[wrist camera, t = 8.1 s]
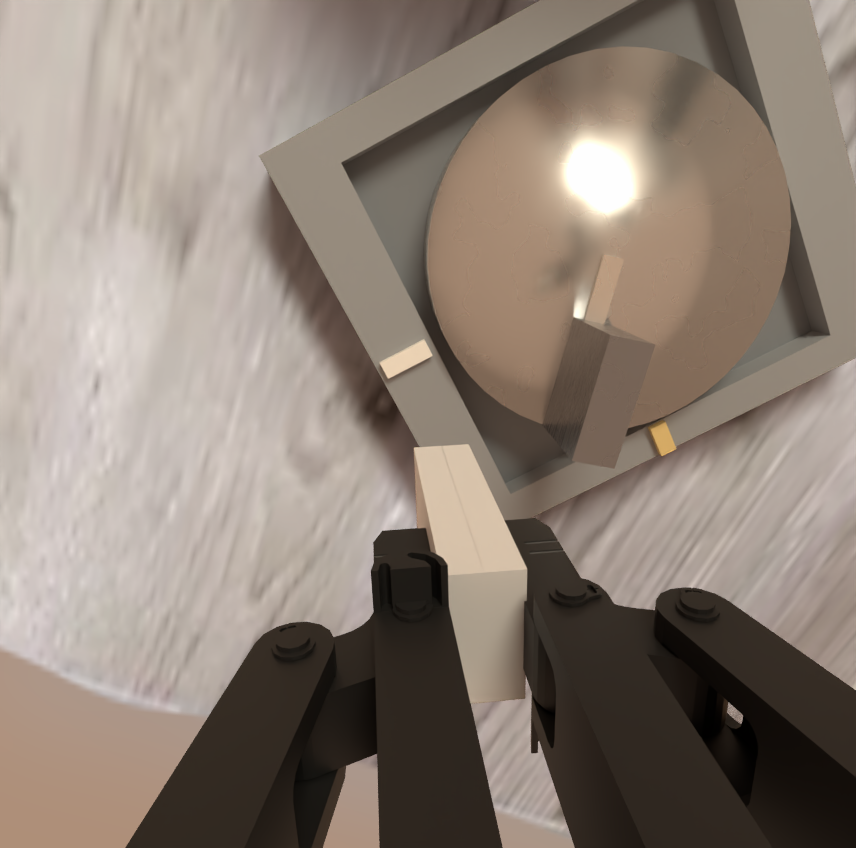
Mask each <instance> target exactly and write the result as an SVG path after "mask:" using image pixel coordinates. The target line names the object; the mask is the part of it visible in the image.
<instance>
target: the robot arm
mask: <svg viewBox="0 0 856 848" xmlns="http://www.w3.org/2000/svg"><path fill="white" fill-rule="evenodd" d="M414 466H415V489H416V512H417V528H415V529H402V530H388V531H382V532H381V533H380V535H379V536H378V537H377V539H376V540H375V541H374V542H373V544H374V564H373V567H372V570H371V579H372V594H373V608H374V612H373V614H372V616H371V617H370V619H369V620H368V621H367V622H366V623H365V624H363V625H362V626H360V627H359V628H357V629H355V630H354V631H351V632H348V633H346V634H343V635H340V636H337V637H333V636H332V634H331V632H330V630H328V629H327V628H325V627H323V626H322V625H320V624H315V623H310V622H296V623H289V624H286V625H282V626H279V627H276V628H274V629H272V630H271V631H269V632H267V633H265V634H264V635H263V636H262V637H261V638H260V639H259V640H258V641H257V642H256V643H255V644H254V646H253V647H252V649H251V651H250V652H249V654H248V655H247V657H246V658H245V660H244V662H243V663H242V665H241V666H240V668H239V670H238V671H237V673H236V674H235V676H234V677H233V679H232V681H231V682H230V684H229V685H228V687H227V688H226V690H225V692H224V693H223V695H222V696H221V698H220V699H219V701H218V703H217V704H216V706H215V707H214V709H213V710H212V712H211V714H210V715H209V717H208V718H207V720H206V722H205V723H204V725H203V726H202V728H201V729H200V731H199V733H198V734H197V736H196V737H195V739H194V740H193V742H192V744H191V745H190V747H189V748H188V750H187V751H186V753H185V755H184V756H183V758H182V759H181V761H180V762H179V764H178V766H177V767H176V769H175V770H174V772H173V774H172V775H171V777H170V778H169V780H168V781H167V783H166V785H165V786H164V788H163V789H162V791H161V792H160V794H159V796H158V797H157V799H156V800H155V802H154V803H153V805H152V807H151V808H150V810H149V811H148V813H147V815H146V816H145V818H144V819H143V821H142V822H141V824H140V826H139V827H138V829H137V830H136V832H135V833H134V835H133V837H132V838H131V840H130V842H129V843H128V845H127V846H126V848H323V844H324V841H325V838H326V835H327V832H328V829H329V826H330V822H331V819H332V816H333V813H334V810H335V807H336V804H337V801H338V798H339V795H340V792H341V788H342V785H343V782H344V779H345V771H346V765H349V764H352V763H354V762H357V761H359V760H362V759H364V758H367V757H370V756H372V755H375V754H377V760H378V798H379V838H380V839H379V841H380V848H502V843H501V838H500V834H499V829H498V825H497V820H496V816H495V811H494V807H493V802H492V798H491V793H490V789H489V784H488V780H487V775H486V771H485V766H484V762H483V757H482V753H481V748H480V744H479V739H478V735H477V730H476V726H475V721H474V717H473V712H472V708H471V704H473V703H484V702H494V701H504V700H515V699H525V679H526V677H527V680H528V683H529V686H530V689H531V691H532V708H531V753H538V741H540V744H541V747H542V750H543V753H544V756H545V759H546V762H547V765H548V768H549V771H550V774H551V777H552V780H553V783H554V786H555V789H556V792H557V795H558V798H559V801H560V804H561V807H562V810H563V813H564V816H565V819H566V822H567V825H568V828H569V831H570V834H571V837H572V840H573V843H574V846H575V848H856V690H854V689H853V688H851V687H850V686H849V685H847V684H846V683H844V682H843V681H841V680H840V679H839V678H837V677H836V676H834V675H833V674H832V673H830V672H829V671H827V670H826V669H824V668H823V667H822V666H820V665H819V664H817V663H816V662H814V661H813V660H812V659H810V658H809V657H807V656H806V655H804V654H803V653H802V652H800V651H799V650H797V649H796V648H795V647H793V646H792V645H790V644H789V643H787V642H786V641H785V640H783V639H782V638H780V637H779V636H777V635H776V634H775V633H773V632H772V631H770V630H769V629H767V628H766V627H765V626H763V625H762V624H760V623H759V622H757V621H756V620H755V619H753V618H752V617H750V616H749V615H748V614H746V613H745V612H743V611H742V610H740V609H739V608H738V607H736V606H735V605H733V604H732V603H730V602H729V601H727V600H726V599H724V598H722V597H720V596H718V595H716V594H714V593H711V592H707V591H704V590H702V589H697V588H676V589H670V590H668V591H665V592H663V593H661V594H660V595H659V597H658V598H657V600H656V607H655V610H646V609H637V608H629V607H624V606H618V605H615V604H614V603H613V602H612V600H611V599H610V597H609V595H608V594H607V593H606V592H605V591H604V590H603V589H602V588H601V587H600V586H599V585H597V584H595V583H593V582H591V581H589V580H586V579H582V578H580V576H579V574H578V573H577V571H576V569H575V568H574V566H573V565H572V563H571V561H570V560H569V558H568V556H567V555H566V553H565V551H563V548H562V546H561V545H560V543H559V542H557V538H556V537H555V535H554V533H553V532H552V530H551V528H550V527H548V526H547V525H545V524H544V523H542V522H540V521H539V520H537V519H536V518H529V519H515V520H504V519H503V516H502V514H501V512H500V510H499V508H498V506H497V504H496V501H495V499H494V497H493V495H492V493H491V491H490V489H489V487H488V484H487V482H486V480H485V478H484V476H483V474H482V472H481V469H480V467H479V465H478V463H477V461H476V459H475V457H474V455H473V452H472V450H471V448H470V446H469V444H463V445H447V446H431V447H416V448H414ZM728 702H729V703H730V704H731V705H733V706H734V707H735V708H736V709H737V710H738V711H739V712H740V713H742V715H743V721H742V724H740V723H738V722H737V721H735V720H734V719H733V718H732V717H731V716H730V715H729V714H728V713H727V708H728Z"/></svg>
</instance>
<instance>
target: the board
mask: <svg viewBox="0 0 856 848" xmlns="http://www.w3.org/2000/svg"><path fill="white" fill-rule="evenodd" d="M621 46H624V47H644V48H652V49H656V50H661V51H666V52H671V53H674V54H677V55H680V56H682V57H685V58H687V59H690V60H693V61H695V62H697V63H699V64H701V65H703V66H704V67H706V68H708V69H710V70H711V71H713V72H715V73H717V74H718V75H719V76H721V77H722V78H723V79H724V80H726V81H727V82H728V83H729V84H731V85H732V86H733V87H734V88H736V89H737V90H738V91H739V92H740V94H741V95H742V96H743V97H744V98H745V99H746V100H747V101H748V102H749V103H750V104H751V106H752V107H753V108H754V109H755V111H756V112H757V114H758V115H759V117H760V118H761V120H762V121H763V123H764V124H765V126H766V127H767V129H768V131H769V133H770V135H771V137H772V139H773V141H774V143H775V145H776V148H777V150H778V152H779V156H780V159H781V162H782V165H783V168H784V171H785V174H786V180H787V186H788V191H789V197H790V212H791V231H790V245H789V252H788V257H787V262H786V268H785V273H784V276H783V279H782V282H781V285H780V289H779V292H778V295H777V297H776V300H775V302H774V304H773V306H772V309H771V311H770V313H769V316H768V318H767V320H766V321H765V323H764V325H763V326H762V328H761V330H760V332H759V333H758V335H757V337H756V338H755V340H754V341H753V343H752V344H751V345H750V347H749V348H748V349H747V351H746V352H745V353H744V355H743V356H742V358H741V359H740V360H739V361H738V362H737V363H736V364H735V365H734V366H733V367H732V369H731V370H730V371H729V372H728V373H727V374H726V375H725V376H724V377H723V378H722V379H721V380H719V381H718V382H717V383H716V384H715V385H714V386H712V387H711V388H710V389H709V390H708V391H707V392H705V393H704V394H702V395H701V396H699V397H698V398H696V399H695V400H694V401H692V402H691V403H689V404H688V405H686V406H684V407H682V408H680V409H678V410H676V411H674V412H673V413H671V414H669V415H667V416H664V417H661V418H659V419H656V420H654V421H651V422H649V423H646V424H642V425H638V426H634V427H630V428H628V430H627V433H626V436H625V439H624V442H623V445H622V448H621V451H620V454H619V457H618V460H617V463H616V466H615V469H613V468H607V467H602V466H596V465H591V464H585V463H580V462H575V461H572V460H571V459H570V458H569V457H568V456H567V454H566V453H565V452H564V451H563V450H562V448H561V447H560V446H559V445H558V444H557V442H556V441H555V440H554V439H553V438H552V436H551V435H550V434H549V433H548V432H547V430H546V429H545V428H544V427H543V424H540V423H538V422H535V421H533V420H530V419H528V418H525V417H523V416H521V415H519V414H517V413H515V412H514V411H512V410H510V409H509V408H507V407H505V406H503V405H502V404H500V403H499V402H498V401H497V400H495V399H494V398H493V397H491V396H490V395H489V394H488V393H486V392H485V391H484V390H483V389H482V388H481V387H480V386H479V385H478V384H477V383H476V382H475V381H474V380H473V379H472V378H471V377H470V376H469V374H468V373H467V372H466V370H465V369H464V368H463V366H462V365H461V363H460V362H459V361H458V359H457V358H456V357H455V355H454V353H453V352H452V350H451V348H450V347H449V345H448V343H447V341H446V339H445V337H444V336H443V334H442V332H441V330H440V328H439V326H438V323H437V320H436V318H435V315H434V313H433V310H432V307H431V303H430V299H429V295H428V291H427V286H426V279H425V269H424V237H425V230H426V223H427V216H428V212H429V208H430V205H431V201H432V197H433V194H434V190H435V188H436V185H437V183H438V181H439V178H440V176H441V173H442V171H443V169H444V167H445V165H446V163H447V161H448V160H449V158H450V156H451V154H452V153H453V151H454V149H455V147H456V146H457V144H458V143H459V142H460V140H461V139H462V138H463V136H464V135H465V134H466V132H467V131H468V130H469V128H470V127H471V126H472V124H473V123H474V122H475V121H476V120H477V119H478V118H479V117H480V116H481V115H482V114H483V113H484V112H485V111H486V110H487V109H488V108H489V107H490V106H491V105H492V104H493V103H494V102H495V101H496V100H497V99H498V98H499V97H501V96H502V95H503V94H504V93H506V92H507V91H508V90H509V89H511V88H512V87H513V86H515V85H516V84H517V83H518V82H520V81H521V80H522V79H524V78H526V77H528V76H529V75H531V74H533V73H534V72H536V71H538V70H539V69H541V68H543V67H544V66H547V65H549V64H551V63H554V62H556V61H559V60H561V59H563V58H566V57H568V56H571V55H575V54H579V53H583V52H587V51H591V50H594V49H602V48H612V47H621ZM259 157H260V158H261V160H262V162H263V164H264V166H265V168H266V169H267V171H268V173H269V175H270V177H271V178H272V180H273V182H274V184H275V186H276V188H277V189H278V191H279V193H280V195H281V197H282V198H283V200H284V202H285V204H286V206H287V207H288V209H289V211H290V213H291V215H292V217H293V218H294V220H295V222H296V224H297V226H298V227H299V229H300V231H301V233H302V235H303V236H304V238H305V240H306V242H307V244H308V246H309V247H310V249H311V251H312V253H313V255H314V256H315V258H316V260H317V262H318V264H319V266H320V267H321V269H322V271H323V273H324V275H325V276H326V278H327V280H328V282H329V284H330V285H331V287H332V289H333V291H334V293H335V295H336V296H337V298H338V300H339V302H340V304H341V305H342V307H343V309H344V311H345V313H346V314H347V316H348V318H349V320H350V322H351V324H352V325H353V327H354V329H355V331H356V333H357V334H358V336H359V338H360V340H361V342H362V344H363V345H364V347H365V349H366V351H367V353H368V354H369V356H370V358H371V360H372V362H373V363H374V365H375V367H376V369H377V371H378V373H379V374H380V376H381V378H382V380H383V382H384V383H385V385H386V387H387V389H388V391H389V392H390V394H391V396H392V398H393V400H394V402H395V403H396V405H397V407H398V409H399V411H400V412H401V414H402V416H403V418H404V420H405V422H406V423H407V425H408V427H409V429H410V431H411V432H412V434H413V436H414V438H415V440H416V441H417V443H418V445H419V447H431V446H447V445H463V444H469V446H470V448H471V450H472V452H473V455H474V457H475V459H476V461H477V463H478V465H479V467H480V469H481V472H482V474H483V476H484V478H485V480H486V482H487V484H488V487H489V489H490V491H491V493H492V495H493V497H494V499H495V501H496V504H497V506H498V508H499V510H500V512H501V514H502V516H503V519H504V520H515V519H529V518H532V517H534V516H536V515H538V514H540V513H542V512H544V511H546V510H548V509H550V508H552V507H554V506H556V505H558V504H560V503H563V502H565V501H567V500H569V499H571V498H573V497H575V496H577V495H579V494H581V493H583V492H585V491H587V490H589V489H591V488H593V487H595V486H597V485H599V484H601V483H603V482H605V481H607V480H609V479H611V478H613V477H615V476H617V475H619V474H621V473H623V472H625V471H627V470H629V469H632V468H634V467H636V466H638V465H640V464H642V463H644V462H646V461H648V460H650V459H652V458H654V457H656V456H658V455H661V456H664V455H666V454H668V453H670V452H672V451H674V450H676V446H678V445H680V444H682V443H684V442H686V441H688V440H690V439H692V438H694V437H696V436H698V435H701V434H703V433H705V432H707V431H709V430H711V429H713V428H715V427H717V426H719V425H721V424H723V423H725V422H727V421H729V420H731V419H733V418H735V417H737V416H739V415H741V414H743V413H745V412H747V411H749V410H751V409H753V408H755V407H757V406H759V405H761V404H763V403H765V402H767V401H770V400H772V399H774V398H776V397H778V396H780V395H782V394H784V393H786V392H788V391H790V390H792V389H794V388H796V387H798V386H800V385H802V384H804V383H806V382H808V381H810V380H812V379H814V378H816V377H818V376H820V375H822V374H824V373H826V372H828V371H830V370H832V369H834V368H837V367H839V366H841V365H843V364H845V363H847V362H849V361H851V360H853V359H855V358H856V185H855V181H854V177H853V173H852V169H851V165H850V161H849V157H848V153H847V149H846V145H845V141H844V137H843V133H842V129H841V125H840V121H839V117H838V113H837V109H836V105H835V101H834V97H833V93H832V89H831V85H830V82H829V78H828V74H827V70H826V66H825V62H824V58H823V54H822V50H821V46H820V42H819V38H818V34H817V30H816V26H815V22H814V18H813V14H812V10H811V6H810V2H809V0H539V1H538V2H536V3H534V4H532V5H530V6H529V7H527V8H525V9H523V10H521V11H520V12H518V13H516V14H514V15H512V16H511V17H509V18H507V19H505V20H503V21H502V22H500V23H498V24H496V25H494V26H492V27H491V28H489V29H487V30H485V31H483V32H482V33H480V34H478V35H476V36H474V37H473V38H471V39H469V40H467V41H465V42H464V43H462V44H460V45H458V46H456V47H455V48H453V49H451V50H449V51H447V52H446V53H444V54H442V55H440V56H438V57H437V58H435V59H433V60H431V61H429V62H428V63H426V64H424V65H422V66H420V67H419V68H417V69H415V70H413V71H411V72H410V73H408V74H406V75H404V76H402V77H400V78H399V79H397V80H395V81H393V82H391V83H390V84H388V85H386V86H384V87H382V88H381V89H379V90H377V91H375V92H373V93H372V94H370V95H368V96H366V97H364V98H363V99H361V100H359V101H357V102H355V103H354V104H352V105H350V106H348V107H346V108H345V109H343V110H341V111H339V112H337V113H336V114H334V115H332V116H330V117H328V118H327V119H325V120H323V121H321V122H319V123H318V124H316V125H314V126H312V127H310V128H308V129H307V130H305V131H303V132H301V133H299V134H298V135H296V136H294V137H292V138H290V139H289V140H287V141H285V142H283V143H281V144H280V145H278V146H276V147H274V148H272V149H271V150H269V151H267V152H265V153H263V154H262V155H260V156H259Z"/></svg>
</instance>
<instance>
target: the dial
mask: <svg viewBox="0 0 856 848" xmlns="http://www.w3.org/2000/svg"><path fill="white" fill-rule="evenodd" d="M790 231H791V212H790V197H789V191H788V186H787V180H786V174H785V171H784V168H783V165H782V162H781V159H780V156H779V152H778V150H777V148H776V145H775V143H774V141H773V139H772V137H771V135H770V133H769V131H768V129H767V127H766V126H765V124H764V123H763V121H762V120H761V118H760V117H759V115H758V114H757V112H756V111H755V109H754V108H753V107H752V106H751V104H750V103H749V102H748V101H747V100H746V99H745V98H744V97H743V96H742V95H741V94H740V92H739V91H738V90H737V89H736V88H734V87H733V86H732V85H731V84H729V83H728V82H727V81H726V80H724V79H723V78H722V77H721V76H719V75H718V74H717V73H715V72H713V71H711V70H710V69H708V68H706V67H704V66H703V65H701V64H699V63H697V62H695V61H693V60H690V59H687V58H685V57H682V56H680V55H677V54H674V53H671V52H666V51H661V50H656V49H652V48H644V47H624V46H621V47H612V48H602V49H594V50H591V51H587V52H583V53H579V54H575V55H571V56H568V57H566V58H563V59H561V60H559V61H556V62H554V63H551V64H549V65H547V66H544V67H543V68H541V69H539V70H538V71H536V72H534V73H533V74H531V75H529V76H528V77H526V78H524V79H522V80H521V81H520V82H518V83H517V84H516V85H515V86H513V87H512V88H511V89H509V90H508V91H507V92H506V93H504V94H503V95H502V96H501V97H499V98H498V99H497V100H496V101H495V102H494V103H493V104H492V105H491V106H490V107H489V108H488V109H487V110H486V111H485V112H484V113H483V114H482V115H481V116H480V117H479V118H478V119H477V120H476V121H475V122H474V123H473V124H472V126H471V127H470V128H469V130H468V131H467V132H466V134H465V135H464V136H463V138H462V139H461V140H460V142H459V143H458V144H457V146H456V147H455V149H454V151H453V153H452V154H451V156H450V158H449V160H448V161H447V163H446V165H445V167H444V169H443V171H442V173H441V176H440V178H439V181H438V183H437V185H436V188H435V190H434V194H433V197H432V201H431V205H430V208H429V212H428V216H427V223H426V230H425V237H424V269H425V279H426V286H427V291H428V295H429V299H430V303H431V307H432V310H433V313H434V315H435V318H436V320H437V323H438V326H439V328H440V330H441V332H442V334H443V336H444V337H445V339H446V341H447V343H448V345H449V347H450V348H451V350H452V352H453V353H454V355H455V357H456V358H457V359H458V361H459V362H460V363H461V365H462V366H463V368H464V369H465V370H466V372H467V373H468V374H469V376H470V377H471V378H472V379H473V380H474V381H475V382H476V383H477V384H478V385H479V386H480V387H481V388H482V389H483V390H484V391H485V392H486V393H488V394H489V395H490V396H491V397H493V398H494V399H495V400H497V401H498V402H499V403H500V404H502V405H503V406H505V407H507V408H509V409H510V410H512V411H514V412H515V413H517V414H519V415H521V416H523V417H525V418H528V419H530V420H533V421H535V422H538V423H540V424H543V427H544V428H545V429H546V430H547V432H548V433H549V434H550V435H551V436H552V438H553V439H554V440H555V441H556V442H557V444H558V445H559V446H560V447H561V448H562V450H563V451H564V452H565V453H566V454H567V456H568V457H569V458H570V459H571V460H572V461H575V462H580V463H585V464H591V465H596V466H602V467H607V468H613V469H615V466H616V463H617V460H618V457H619V454H620V451H621V448H622V445H623V442H624V439H625V436H626V433H627V430H628V428H630V427H634V426H638V425H642V424H646V423H649V422H651V421H654V420H656V419H659V418H661V417H664V416H667V415H669V414H671V413H673V412H674V411H676V410H678V409H680V408H682V407H684V406H686V405H688V404H689V403H691V402H692V401H694V400H695V399H696V398H698V397H699V396H701V395H702V394H704V393H705V392H707V391H708V390H709V389H710V388H711V387H712V386H714V385H715V384H716V383H717V382H718V381H719V380H721V379H722V378H723V377H724V376H725V375H726V374H727V373H728V372H729V371H730V370H731V369H732V367H733V366H734V365H735V364H736V363H737V362H738V361H739V360H740V359H741V358H742V356H743V355H744V353H745V352H746V351H747V349H748V348H749V347H750V345H751V344H752V343H753V341H754V340H755V338H756V337H757V335H758V333H759V332H760V330H761V328H762V326H763V325H764V323H765V321H766V320H767V318H768V316H769V313H770V311H771V309H772V306H773V304H774V302H775V300H776V297H777V295H778V292H779V289H780V285H781V282H782V279H783V276H784V273H785V268H786V262H787V257H788V252H789V245H790Z"/></svg>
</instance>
